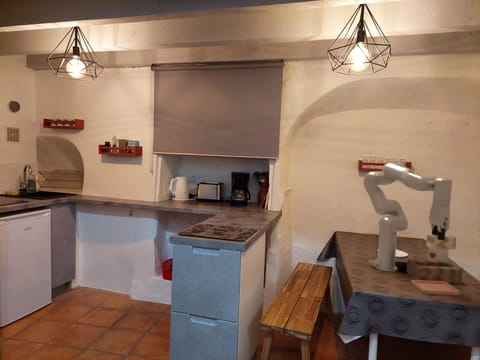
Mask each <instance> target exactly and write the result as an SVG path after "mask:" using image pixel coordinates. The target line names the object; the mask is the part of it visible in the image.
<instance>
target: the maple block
mask: <svg viewBox="0 0 480 360" xmlns="http://www.w3.org/2000/svg"><path fill="white" fill-rule="evenodd" d="M425 243H426V245H425V246H426V247H427V248H428V249H429V248H431V249H449V250H453V251H454V250H455V251H456V248H457V247H456V246H457V245H456V244H457V237H455V236H453V235H448V234H445V240H438V235H432V234H426V242H425Z"/></svg>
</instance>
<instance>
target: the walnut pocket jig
mask: <svg viewBox="0 0 480 360" xmlns="http://www.w3.org/2000/svg"><path fill="white" fill-rule="evenodd" d="M463 271H464V269H462V268H461V267H459V266H457V265H455V264H454V263H452V262H450V261H448V260H447V261H441V260H427V259H413V258H412V259H410V258H407V262H406V272H407V273H406V274H407V275H409V276H410V277H412V278H413V280H427V281H445V282H447V283H448V284H450V285H451V284H452V285H462V281H463V273H464V272H463Z"/></svg>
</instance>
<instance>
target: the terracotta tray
mask: <svg viewBox="0 0 480 360" xmlns="http://www.w3.org/2000/svg"><path fill="white" fill-rule="evenodd" d="M410 284H411V285H412V286H414V287H415V288H416V289H418V290H419V291H420V292H421V293H423V295H437V296H438V295H442V296H443V295H444V296H445V295H446V296H461V295H462V292H461V290H459V289H458V288H456V287H455V286H453V285H451V284H448V283H447V282H445V281H427V280H416V279H411V280H410Z"/></svg>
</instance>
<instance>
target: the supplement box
mask: <svg viewBox="0 0 480 360" xmlns="http://www.w3.org/2000/svg"><path fill="white" fill-rule="evenodd" d="M449 250H450V249H431V248H429V247H428V251H427V259H426V260H441V261H448V257H449Z"/></svg>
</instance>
